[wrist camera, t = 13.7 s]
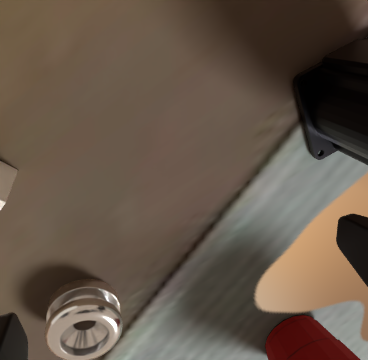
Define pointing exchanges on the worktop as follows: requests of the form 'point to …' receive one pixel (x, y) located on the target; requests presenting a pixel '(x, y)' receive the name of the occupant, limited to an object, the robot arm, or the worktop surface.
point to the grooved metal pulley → (83, 320)
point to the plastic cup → (305, 342)
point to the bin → (6, 181)
